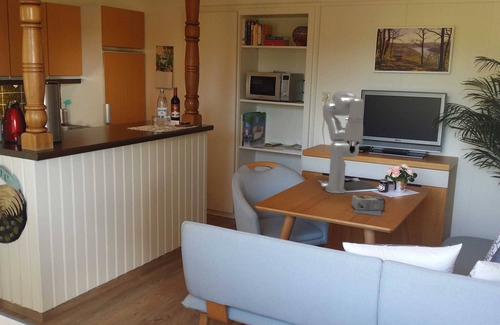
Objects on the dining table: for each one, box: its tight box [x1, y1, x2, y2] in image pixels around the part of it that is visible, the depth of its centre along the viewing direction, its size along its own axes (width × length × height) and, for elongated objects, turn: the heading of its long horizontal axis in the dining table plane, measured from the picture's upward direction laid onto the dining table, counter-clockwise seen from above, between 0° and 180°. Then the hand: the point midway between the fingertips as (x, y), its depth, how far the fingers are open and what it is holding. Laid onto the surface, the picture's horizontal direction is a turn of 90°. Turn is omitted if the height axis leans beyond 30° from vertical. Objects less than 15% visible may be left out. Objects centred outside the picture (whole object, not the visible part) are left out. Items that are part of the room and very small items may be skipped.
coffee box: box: [351, 194, 386, 212], centre depth 288 cm, size 9×6×16 cm
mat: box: [353, 208, 383, 217], centre depth 284 cm, size 14×14×1 cm
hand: (351, 152), depth 294 cm, fingers closed
